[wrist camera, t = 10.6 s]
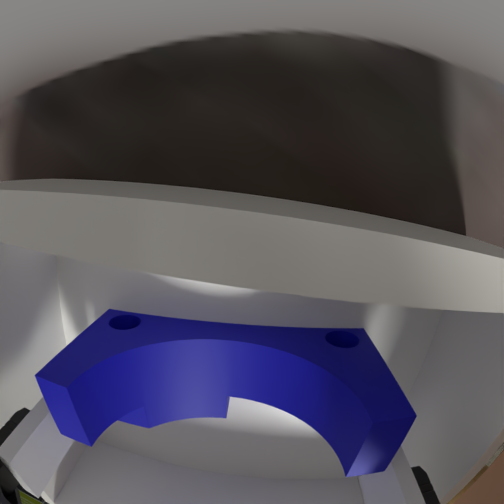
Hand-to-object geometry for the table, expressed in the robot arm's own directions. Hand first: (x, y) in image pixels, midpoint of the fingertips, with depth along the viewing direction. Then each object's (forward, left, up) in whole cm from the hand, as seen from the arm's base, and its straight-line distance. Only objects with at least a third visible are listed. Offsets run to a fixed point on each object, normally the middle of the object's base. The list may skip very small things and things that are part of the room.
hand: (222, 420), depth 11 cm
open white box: (0, 0, -3) cm, 3 cm away
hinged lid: (-13, 0, +16) cm, 21 cm away
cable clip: (0, -2, -2) cm, 3 cm away
